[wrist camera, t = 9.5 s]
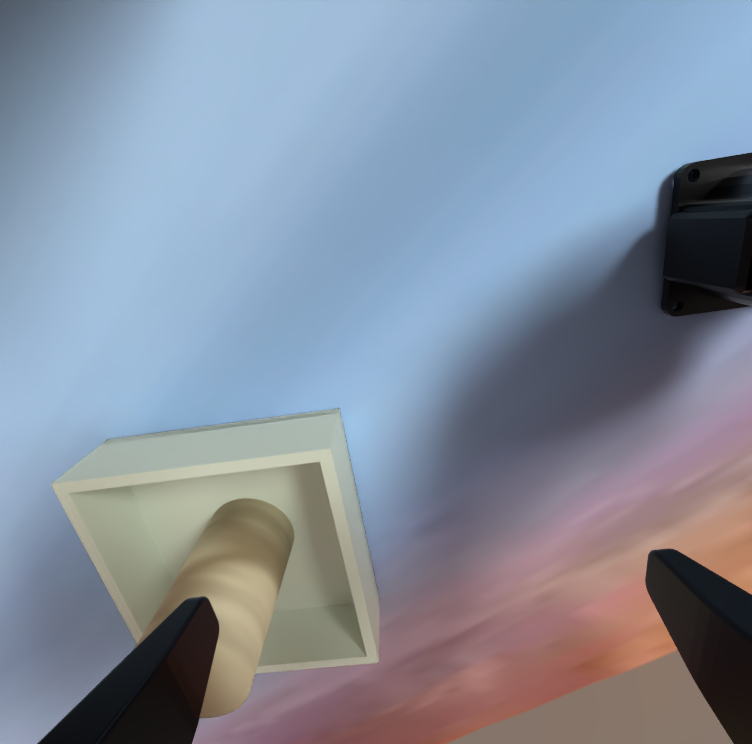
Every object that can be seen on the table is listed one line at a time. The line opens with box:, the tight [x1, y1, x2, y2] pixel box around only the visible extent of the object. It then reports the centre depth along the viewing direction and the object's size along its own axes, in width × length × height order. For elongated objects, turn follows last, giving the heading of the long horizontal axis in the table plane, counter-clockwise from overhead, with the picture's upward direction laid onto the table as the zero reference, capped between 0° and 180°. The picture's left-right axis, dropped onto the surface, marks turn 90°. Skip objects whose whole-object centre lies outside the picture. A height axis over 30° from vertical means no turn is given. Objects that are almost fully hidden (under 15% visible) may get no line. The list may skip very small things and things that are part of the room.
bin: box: [51, 408, 379, 674], centre depth 22 cm, size 13×14×4 cm
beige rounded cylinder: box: [134, 498, 294, 718], centre depth 19 cm, size 5×5×8 cm
